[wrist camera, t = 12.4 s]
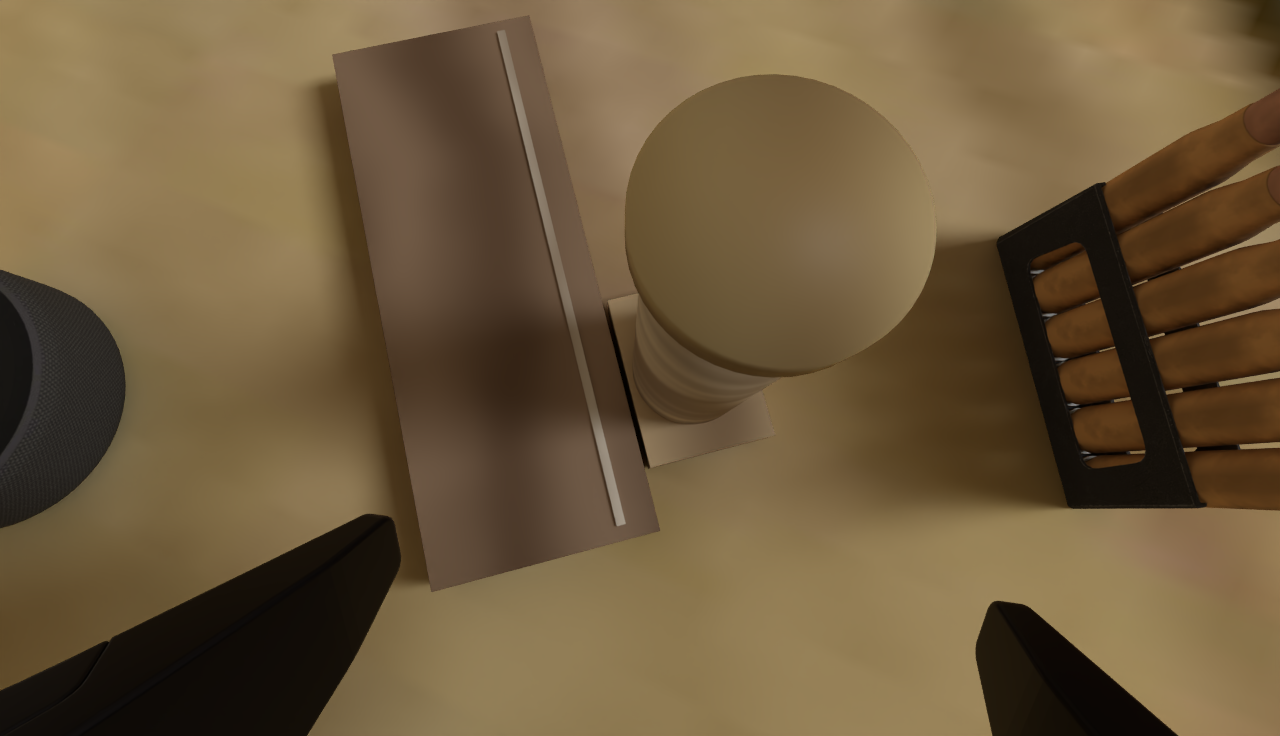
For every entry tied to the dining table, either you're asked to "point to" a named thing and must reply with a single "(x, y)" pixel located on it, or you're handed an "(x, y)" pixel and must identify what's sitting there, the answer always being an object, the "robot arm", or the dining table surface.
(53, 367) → the smart speaker
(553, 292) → the walnut plank
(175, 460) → the dining table surface
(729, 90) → the beige round-topped column
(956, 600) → the dining table surface
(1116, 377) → the ammunition clip
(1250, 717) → the dining table surface
